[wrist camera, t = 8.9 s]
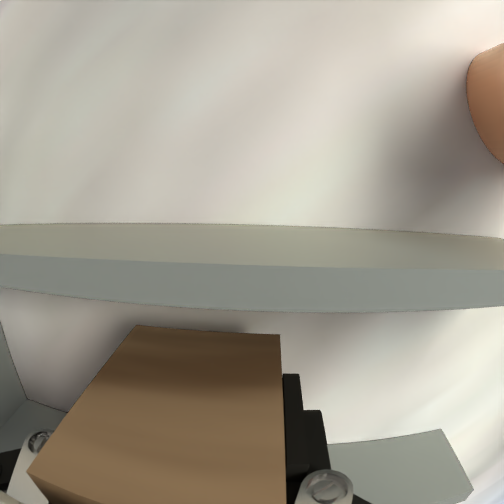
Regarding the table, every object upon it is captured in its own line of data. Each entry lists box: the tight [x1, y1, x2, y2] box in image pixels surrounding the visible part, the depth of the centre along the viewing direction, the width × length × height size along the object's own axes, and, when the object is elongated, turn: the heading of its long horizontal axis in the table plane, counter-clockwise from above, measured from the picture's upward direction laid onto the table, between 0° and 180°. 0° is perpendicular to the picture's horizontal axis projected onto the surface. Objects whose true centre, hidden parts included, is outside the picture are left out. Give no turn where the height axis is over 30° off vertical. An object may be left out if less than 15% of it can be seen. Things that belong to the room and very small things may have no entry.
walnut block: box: [26, 325, 286, 504], centre depth 8 cm, size 5×5×7 cm
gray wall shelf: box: [0, 223, 504, 504], centre depth 12 cm, size 23×26×5 cm
